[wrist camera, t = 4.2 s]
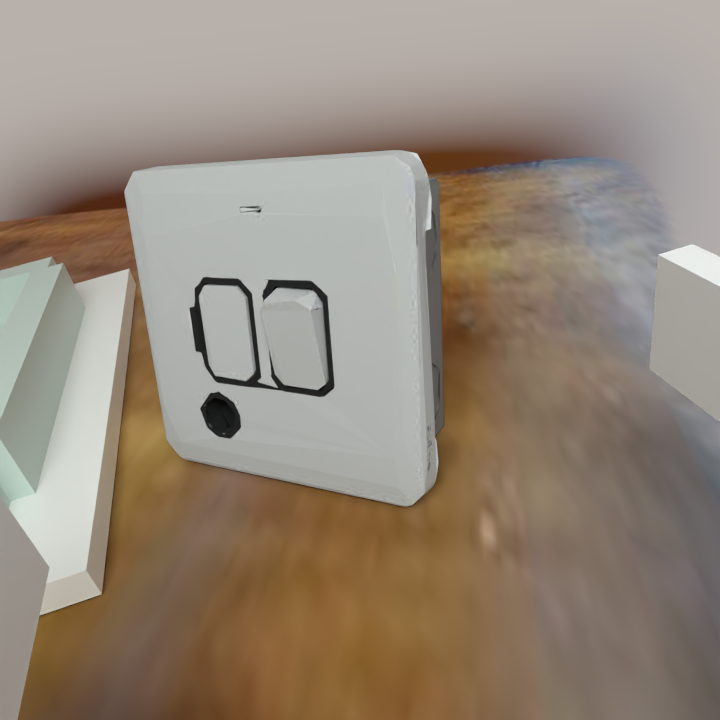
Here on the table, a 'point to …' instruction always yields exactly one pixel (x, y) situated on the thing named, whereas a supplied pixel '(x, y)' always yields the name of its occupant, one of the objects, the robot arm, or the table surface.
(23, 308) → the pocket tray
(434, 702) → the table surface
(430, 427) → the electrical switch
